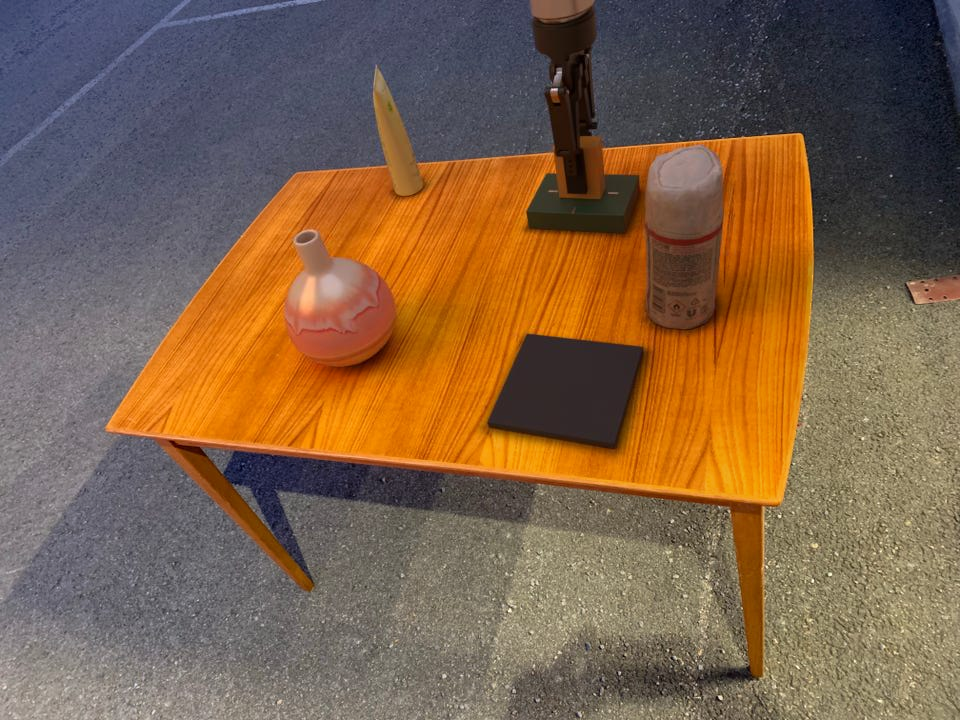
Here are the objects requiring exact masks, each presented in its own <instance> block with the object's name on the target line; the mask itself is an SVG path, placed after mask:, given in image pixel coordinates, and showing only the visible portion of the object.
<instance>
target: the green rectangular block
mask: <svg viewBox="0 0 960 720" xmlns="http://www.w3.org/2000/svg"><path fill="white" fill-rule="evenodd" d="M605 184H606V188H605V190H604V192H603V195H602V197H601V199H580V198H560V196H559V189H558V182H557V175H556V172H554V173H553V172H546V173H545V175H544V177H543V178H542V181H541V182H540V183H539V186H538V187H537V190H536V192H535V194H534V196H533V198H532V199H531V201H530V203H529V205H528V207H527V209H526V210H525V214H526V220H527V225H528V229H530V230H531V229H532V230H535V229H536V230H551V231H570V232H588V233H607V234H626V231H627V229H628V225H629V223H630V221H631V218H632V215H633V212H634V210H635V207H636V203H637V201H638V199H639V196H640V194H641V189H640V175H639V174H613V173H612V174H610V173H609V174H607V173H605Z"/></svg>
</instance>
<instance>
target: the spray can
mask: <svg viewBox="0 0 960 720" xmlns="http://www.w3.org/2000/svg"><path fill="white" fill-rule="evenodd" d="M719 157H720V156H719V155H718V154H717V153H716V152H715V151H713V150H712V149H711V148H710V147H707V146H706V145H704V144H701V143H699V144H696V145H691V146H685V147H676V148H675V149H674V150H671V151H669V152H667V153H661V154H659V155H656V156H655V158H654V160H653V162H652V163H651V164H650V166H649V168H648V172H647V173H648V174H647V178H646V184H645V185H646V186H645V215H644V216H645V217H644V236H645V240H644V241H645V252H646V253H645V255H646V256H645V257H646V259H645V267H646V293H645V294H646V295H645V296H646V297H645V298H646V301H645V307H644V312H645V313H646V315H647V317H648V318H649V319H650V320H651V321H652V322H653V323H655V324H656V325H658V326H660V327H661V326H662V327H663V328H667V329H677V330H678V329H679V330H691V329H694V328H696V327H699V326H701V325H704V324H706V323H707V322H709V320H710V319H711V317H712V316H713V315H714V313H715V310H716V302H715V301H716V298H717V288H718V279H719V270H720V257H721V249H722V248H721V247H722V239H723V237H722V236H723V227H724V215H725V208H724V198H723V196H724V192H723V191H724V173H723V167H722V164H721V160H720V158H719Z"/></svg>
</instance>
